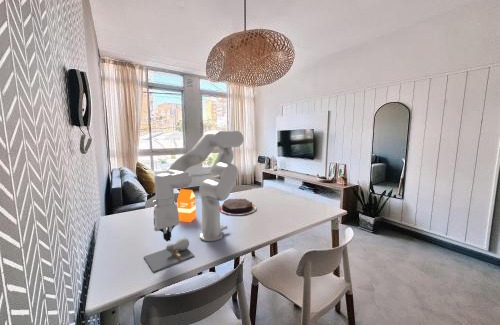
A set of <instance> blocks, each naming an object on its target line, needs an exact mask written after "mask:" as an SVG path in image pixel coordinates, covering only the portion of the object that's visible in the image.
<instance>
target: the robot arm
mask: <svg viewBox="0 0 500 325" xmlns="http://www.w3.org/2000/svg"><path fill="white" fill-rule="evenodd" d="M244 137H245V136H244V135H243V133H242V132H241V131H238V130H208V131H206V132H205V133H204V134H202V135H201V137H200V138H199V139H198V141H197V142H196V143H195V145H194V146H193V147H192V148H191V149H190V150H189V151H188V152H186V153H184V154H183V155H182V156H180V157H179V158H178V159H176V160H175V161H173V163H172V164H171V165H170V167H169V168H168V170H167V171H166V172H163V173H158V174H155V175H154V177H153V178H154V190H155V199H154V200H152V205H154V208H153V225H154V227H153V230H154V231H155V232H162V233H163V234H162V236H163V240H165V241H166V242H169V241H171V239H172V231H173V229H174V228H175V227H177V226H178V225H180V221H179V213H178V204H177V202H175V193H174V192H175V191H174V190H175V189H185V188H187V187H189V186H190V185H191V183H192V181H193V177H192V175H191V174H190V173H188V172H186V171H187V170H188V169H190V168H191V167H193V166H197V165H199V164H201V163H204V162H205V161H206V160H207V159H208V157H210V156H209V155H211V153H212V152H213V150H214V149H216V148H217V149H219V150H218V154H217V157H216V159H215V160H214V163H213V165H212V166H211V168H210V176H211V177H212V178H213V179H210V178H209V179H205V180H202V181H201V183H200V185H199V189H198V190H199V191H198V192H199V196H200V200H201V201H200V202H201V222H202V223H201V227H202V229H201V230H202V231H201V232H200V234H199V239H200V240H202V241H204V242H216V241H219V240H221V239H222V238H223V236H224V232H223V231H225V230H227V229H228V225H223V224H221V212H220V206H221V205H220V204H221V203H220V202H223V201H226V200H228V199H229V197H230V194H231V192H232V189H233V188H234V186H235V184H236V181H237V179H238V175H239V170H238V169H239V168H238V167H237V166H236V165H235V164H233V163H232V162H233V160H234V150H233V148H238V147H240V146H242V145H243V143H244ZM215 179H216V180H215Z"/></svg>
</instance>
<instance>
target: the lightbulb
mask: <svg viewBox="0 0 500 325" xmlns="http://www.w3.org/2000/svg"><path fill="white" fill-rule="evenodd" d="M170 244H171V245H168V244H167V246H166V247H165V249H166V250H167V251H172V250H180V251H184V250H186V249H189V246H190V240H189V239H188V238H187V237H186V236H181V237H179V238H178V239H176V241H175V242H173V243H170Z"/></svg>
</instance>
